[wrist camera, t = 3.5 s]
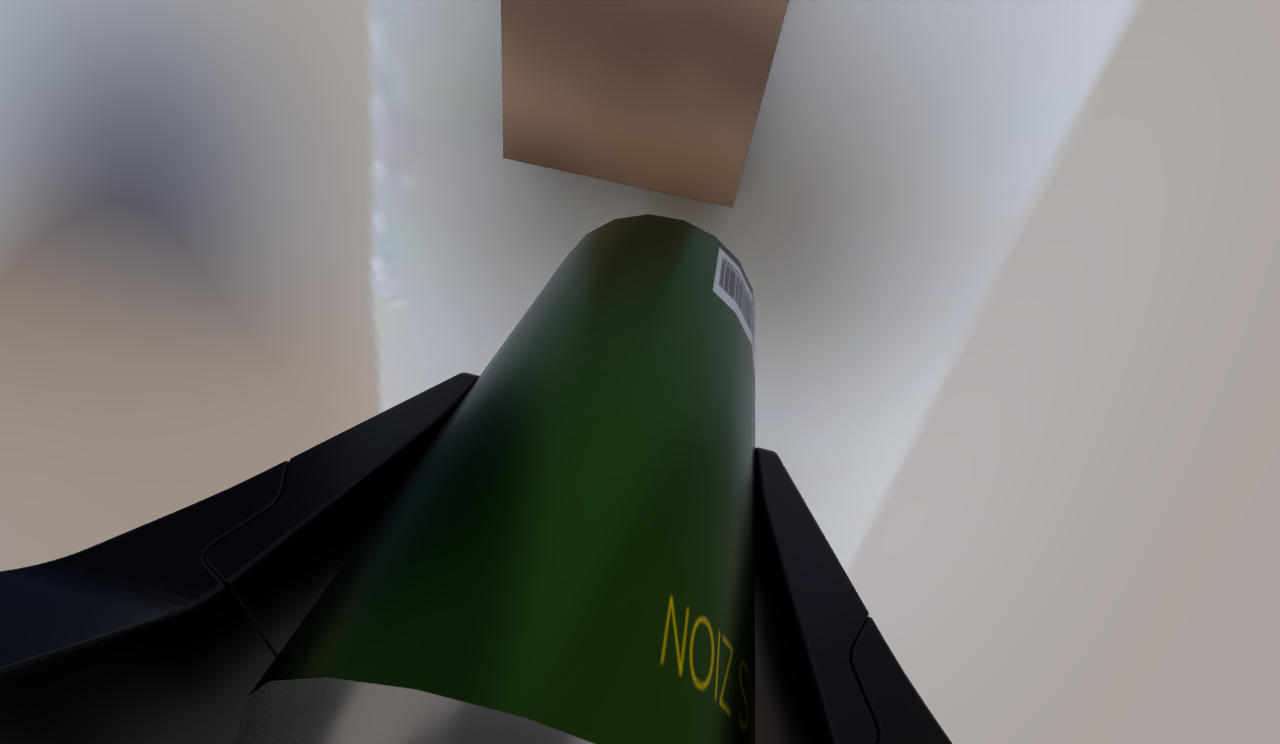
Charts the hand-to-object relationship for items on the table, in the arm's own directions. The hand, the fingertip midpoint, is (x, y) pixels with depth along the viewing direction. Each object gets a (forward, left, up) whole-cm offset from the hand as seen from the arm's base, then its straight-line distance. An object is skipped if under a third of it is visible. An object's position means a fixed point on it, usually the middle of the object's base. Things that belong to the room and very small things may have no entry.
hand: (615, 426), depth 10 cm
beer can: (0, 0, -5) cm, 5 cm away
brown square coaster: (+5, +3, -14) cm, 15 cm away
